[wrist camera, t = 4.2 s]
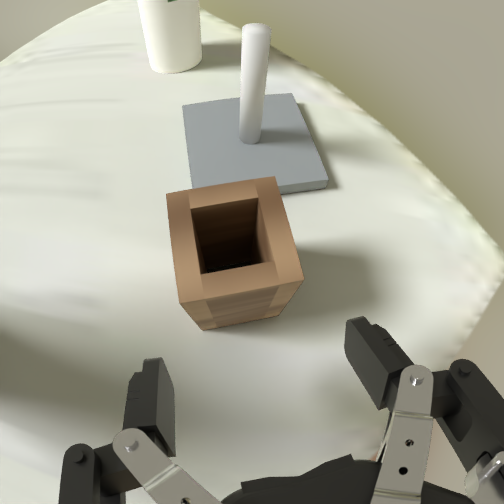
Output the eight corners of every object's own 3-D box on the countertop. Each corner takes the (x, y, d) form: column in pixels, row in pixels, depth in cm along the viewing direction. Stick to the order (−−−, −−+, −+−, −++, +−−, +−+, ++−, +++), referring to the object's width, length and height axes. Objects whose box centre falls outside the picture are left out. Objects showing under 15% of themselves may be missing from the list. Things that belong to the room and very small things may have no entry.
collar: (278, 315, 24) (304, 279, 15) (202, 330, 24) (179, 303, 14) (261, 245, 26) (274, 175, 17) (190, 258, 26) (166, 193, 16)
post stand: (325, 188, 29) (372, 76, 16) (196, 208, 27) (171, 88, 15) (290, 102, 33) (309, 0, 20) (183, 115, 32) (168, 8, 19)
